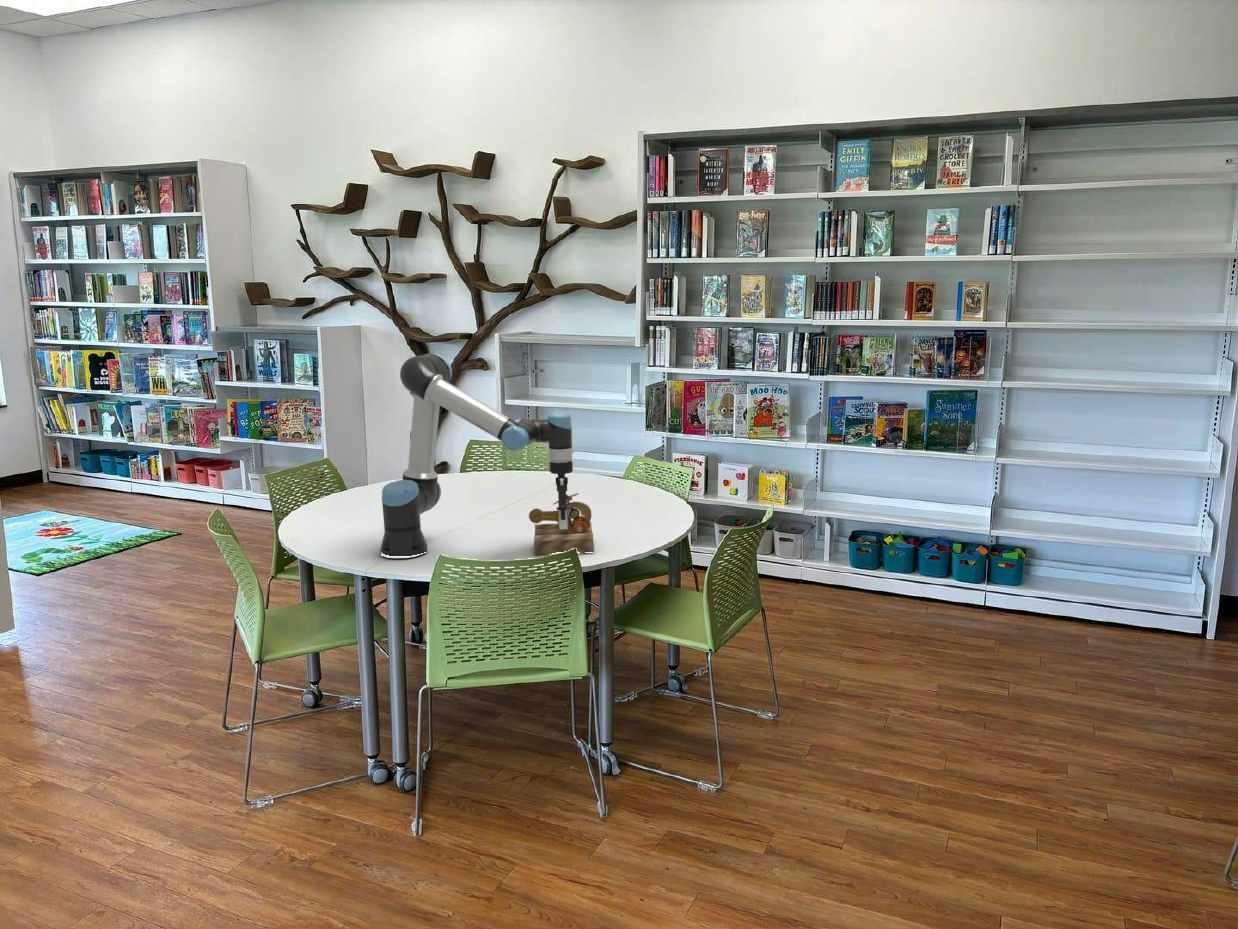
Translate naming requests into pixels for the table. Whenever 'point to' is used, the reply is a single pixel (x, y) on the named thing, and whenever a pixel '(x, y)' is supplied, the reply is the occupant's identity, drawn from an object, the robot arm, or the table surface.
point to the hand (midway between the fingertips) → (563, 524)
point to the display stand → (560, 540)
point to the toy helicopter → (576, 525)
